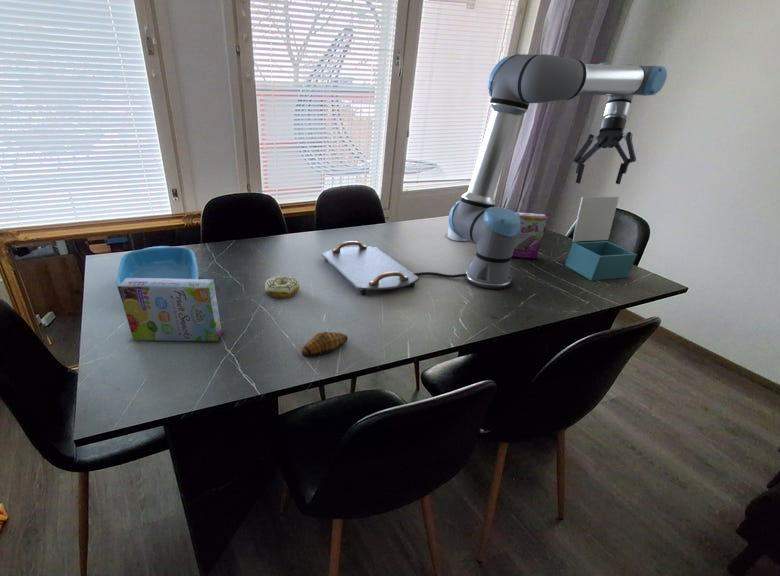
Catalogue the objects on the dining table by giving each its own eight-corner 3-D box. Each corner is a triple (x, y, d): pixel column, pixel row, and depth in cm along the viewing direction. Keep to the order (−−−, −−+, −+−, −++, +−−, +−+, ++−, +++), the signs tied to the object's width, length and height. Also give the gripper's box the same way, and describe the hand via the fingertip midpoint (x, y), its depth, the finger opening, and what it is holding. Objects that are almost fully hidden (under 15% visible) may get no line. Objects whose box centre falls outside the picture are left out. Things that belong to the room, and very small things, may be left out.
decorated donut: (261, 297, 127) (259, 286, 125) (271, 283, 136) (270, 272, 134) (294, 301, 126) (293, 289, 124) (302, 286, 135) (302, 275, 133)
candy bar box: (507, 257, 165) (518, 215, 156) (505, 253, 169) (515, 211, 160) (536, 259, 164) (549, 217, 155) (533, 255, 169) (545, 213, 159)
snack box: (222, 331, 110) (214, 278, 101) (217, 342, 105) (208, 288, 97) (140, 330, 109) (125, 276, 100) (132, 341, 104) (115, 285, 96)
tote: (626, 277, 152) (637, 254, 147) (591, 280, 149) (600, 256, 144) (598, 262, 164) (607, 240, 159) (564, 265, 161) (572, 242, 156)
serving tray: (317, 257, 157) (317, 241, 153) (371, 250, 165) (373, 235, 162) (361, 300, 128) (362, 282, 125) (424, 290, 136) (427, 272, 133)
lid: (619, 196, 152) (617, 196, 153) (583, 197, 149) (581, 197, 149) (608, 239, 158) (606, 239, 159) (573, 241, 155) (572, 241, 156)
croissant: (310, 364, 99) (310, 346, 96) (295, 351, 103) (294, 334, 101) (354, 347, 106) (355, 330, 103) (338, 335, 110) (339, 319, 108)
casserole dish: (205, 308, 120) (201, 285, 116) (119, 319, 113) (112, 295, 109) (196, 262, 148) (193, 242, 144) (127, 269, 141) (121, 248, 137)
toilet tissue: (443, 234, 187) (447, 211, 181) (468, 233, 189) (473, 210, 183) (452, 241, 178) (456, 218, 173) (478, 241, 180) (483, 217, 175)
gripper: (658, 118, 141) (638, 185, 148) (581, 123, 157) (566, 184, 164) (653, 112, 136) (633, 182, 143) (574, 118, 152) (558, 181, 159)
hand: (597, 183), depth 153 cm, fingers open, 13 cm apart
